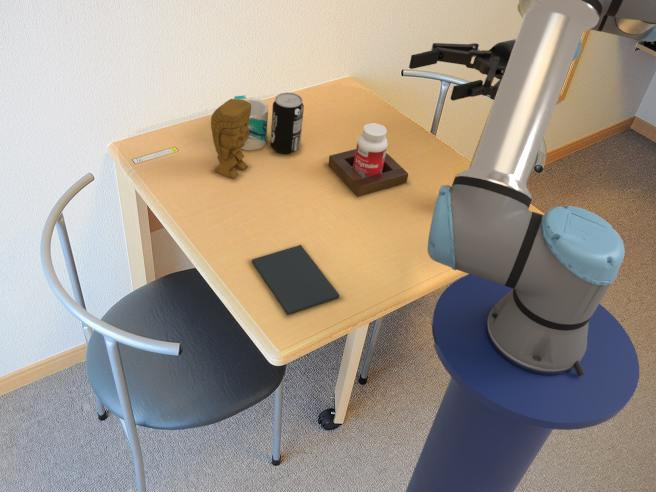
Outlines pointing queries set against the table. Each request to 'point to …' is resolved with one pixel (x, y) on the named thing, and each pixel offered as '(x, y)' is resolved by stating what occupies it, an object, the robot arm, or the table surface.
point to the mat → (295, 279)
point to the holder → (367, 185)
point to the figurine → (231, 135)
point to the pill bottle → (371, 150)
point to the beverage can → (286, 123)
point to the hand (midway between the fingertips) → (431, 77)
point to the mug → (256, 123)
